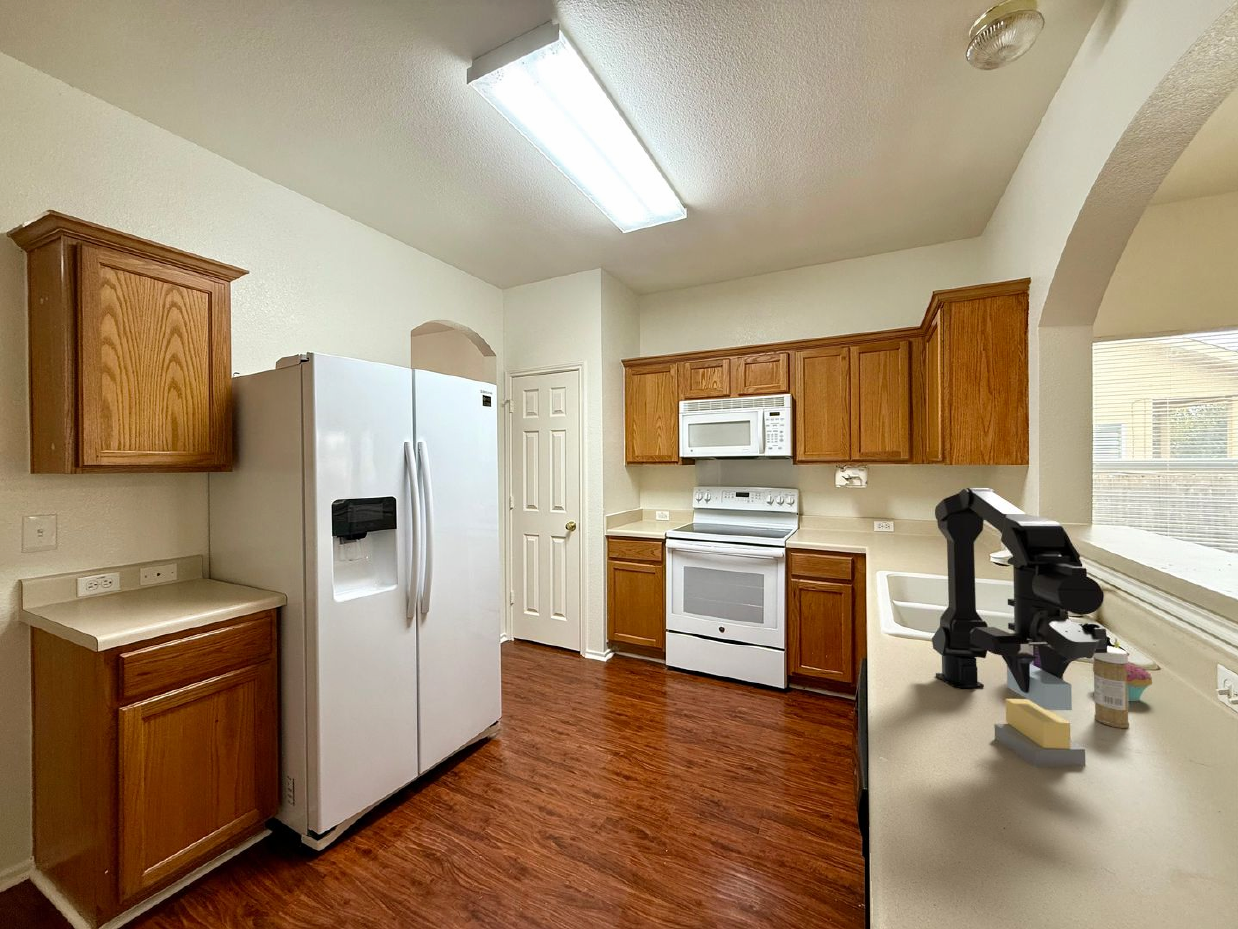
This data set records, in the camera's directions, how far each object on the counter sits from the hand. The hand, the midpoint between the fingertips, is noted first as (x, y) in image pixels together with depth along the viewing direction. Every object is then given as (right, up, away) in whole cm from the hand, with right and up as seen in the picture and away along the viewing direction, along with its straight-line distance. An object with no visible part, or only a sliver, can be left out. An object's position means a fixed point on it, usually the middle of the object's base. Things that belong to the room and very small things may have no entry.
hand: (1037, 691), depth 81 cm
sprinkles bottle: (+21, -10, +9) cm, 25 cm away
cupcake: (+33, -10, +19) cm, 40 cm away
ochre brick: (0, -7, 0) cm, 7 cm away
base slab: (0, -10, 0) cm, 10 cm away
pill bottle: (+21, -10, +25) cm, 34 cm away
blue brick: (0, -1, 0) cm, 1 cm away
